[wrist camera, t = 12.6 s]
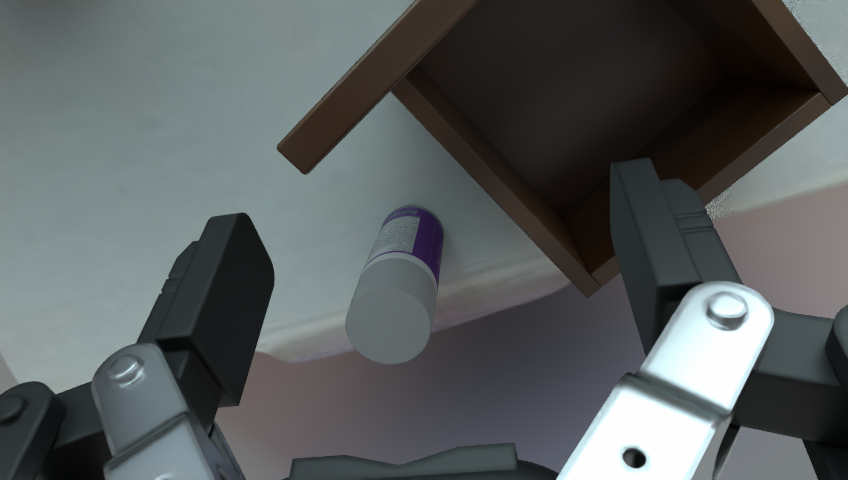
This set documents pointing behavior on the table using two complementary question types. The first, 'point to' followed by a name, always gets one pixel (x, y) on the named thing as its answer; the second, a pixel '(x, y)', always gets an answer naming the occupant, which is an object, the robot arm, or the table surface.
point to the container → (398, 288)
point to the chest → (613, 105)
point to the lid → (371, 79)
